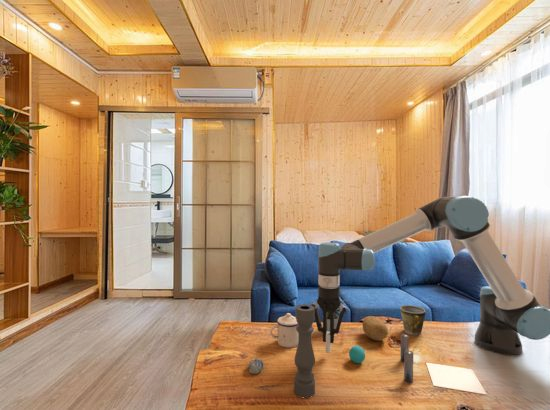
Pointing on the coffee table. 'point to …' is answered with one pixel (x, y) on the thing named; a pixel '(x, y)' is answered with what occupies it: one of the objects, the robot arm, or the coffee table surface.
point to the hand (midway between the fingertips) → (328, 351)
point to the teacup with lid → (286, 331)
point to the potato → (375, 328)
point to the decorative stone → (255, 366)
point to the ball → (357, 354)
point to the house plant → (334, 317)
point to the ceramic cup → (412, 319)
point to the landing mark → (454, 378)
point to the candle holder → (304, 352)
